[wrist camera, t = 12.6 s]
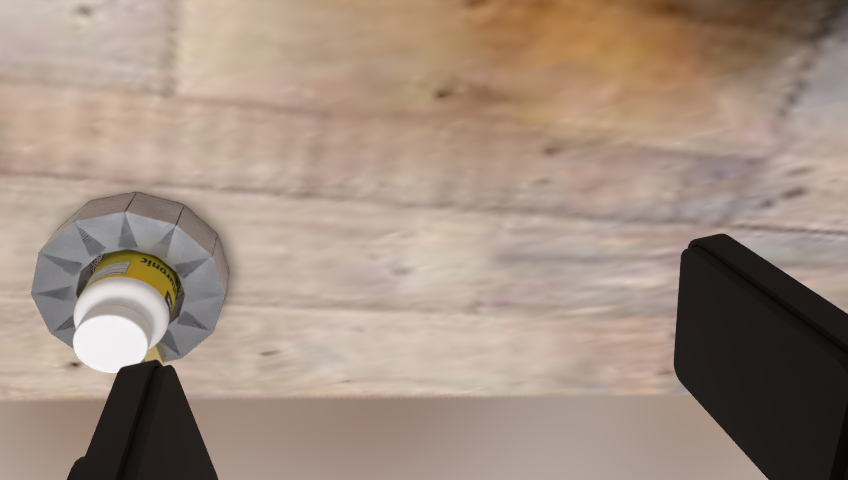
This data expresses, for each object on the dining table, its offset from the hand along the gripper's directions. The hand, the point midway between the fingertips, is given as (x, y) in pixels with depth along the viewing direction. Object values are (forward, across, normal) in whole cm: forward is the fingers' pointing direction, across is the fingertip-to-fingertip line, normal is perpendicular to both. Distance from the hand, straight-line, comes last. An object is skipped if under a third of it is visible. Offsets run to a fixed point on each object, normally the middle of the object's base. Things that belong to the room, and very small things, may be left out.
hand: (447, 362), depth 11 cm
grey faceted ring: (+33, +16, +12) cm, 39 cm away
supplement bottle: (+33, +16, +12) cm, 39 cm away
